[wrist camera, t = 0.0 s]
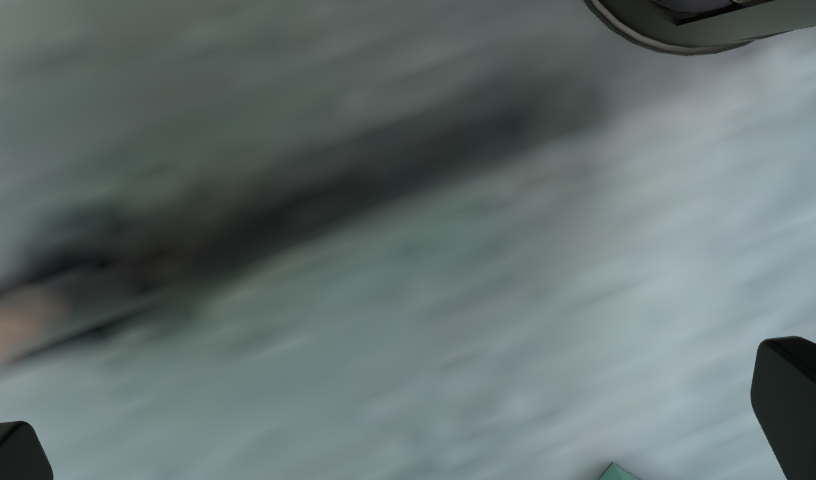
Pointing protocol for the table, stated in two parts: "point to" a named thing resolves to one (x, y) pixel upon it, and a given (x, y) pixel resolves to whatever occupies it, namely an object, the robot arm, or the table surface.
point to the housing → (617, 474)
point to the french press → (703, 23)
